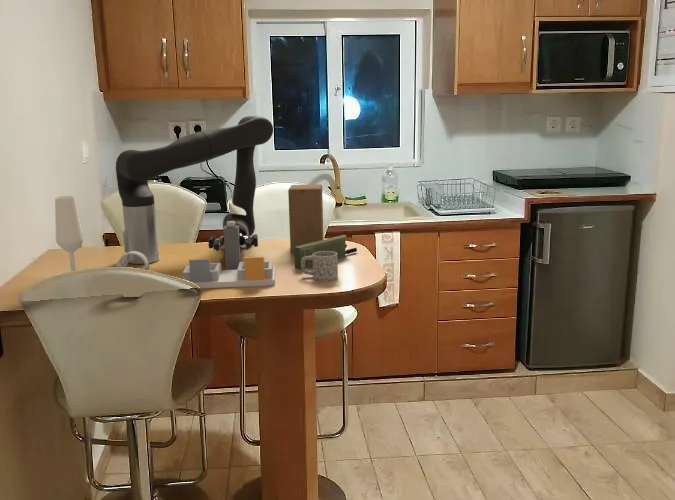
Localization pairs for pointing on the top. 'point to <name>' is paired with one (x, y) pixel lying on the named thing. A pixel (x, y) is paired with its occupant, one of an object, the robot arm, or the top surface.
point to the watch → (126, 257)
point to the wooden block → (305, 214)
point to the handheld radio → (322, 249)
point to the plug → (232, 245)
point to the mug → (322, 265)
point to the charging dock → (230, 273)
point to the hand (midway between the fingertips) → (232, 246)
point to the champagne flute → (68, 226)
